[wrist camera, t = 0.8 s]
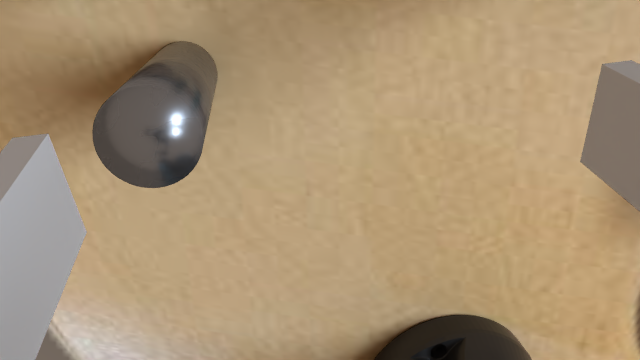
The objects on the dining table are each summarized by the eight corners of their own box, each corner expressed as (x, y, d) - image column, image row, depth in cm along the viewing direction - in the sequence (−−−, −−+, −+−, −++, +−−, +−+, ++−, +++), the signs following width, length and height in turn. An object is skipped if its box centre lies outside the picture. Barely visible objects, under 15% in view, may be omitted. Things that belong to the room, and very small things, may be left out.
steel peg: (203, 115, 33) (180, 202, 20) (142, 89, 32) (78, 164, 19) (227, 58, 32) (219, 113, 19) (165, 29, 31) (113, 67, 18)
